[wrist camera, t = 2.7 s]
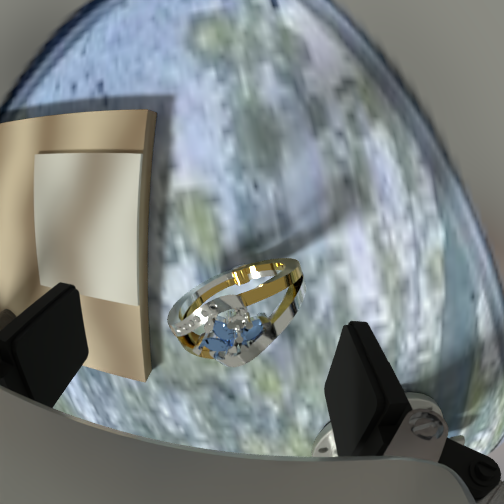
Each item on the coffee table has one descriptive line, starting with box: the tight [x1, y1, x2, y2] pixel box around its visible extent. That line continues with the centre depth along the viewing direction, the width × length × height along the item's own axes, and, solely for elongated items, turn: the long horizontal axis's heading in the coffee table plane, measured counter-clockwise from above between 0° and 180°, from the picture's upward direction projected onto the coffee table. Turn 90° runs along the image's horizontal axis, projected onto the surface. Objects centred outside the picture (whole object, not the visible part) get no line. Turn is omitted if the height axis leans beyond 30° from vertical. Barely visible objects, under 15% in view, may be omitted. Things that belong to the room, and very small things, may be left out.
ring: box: [167, 258, 306, 367], centre depth 15 cm, size 7×3×8 cm, turn 108°
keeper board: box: [0, 109, 157, 382], centre depth 18 cm, size 16×18×2 cm
